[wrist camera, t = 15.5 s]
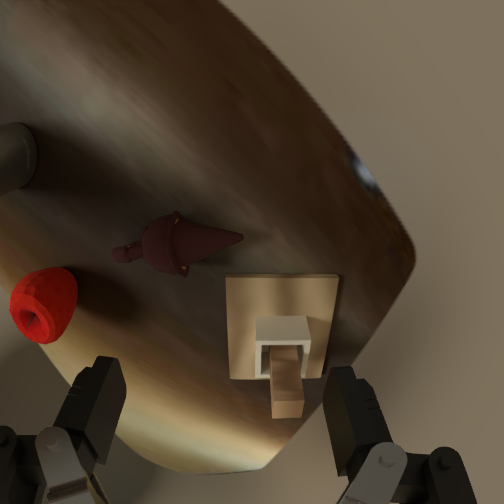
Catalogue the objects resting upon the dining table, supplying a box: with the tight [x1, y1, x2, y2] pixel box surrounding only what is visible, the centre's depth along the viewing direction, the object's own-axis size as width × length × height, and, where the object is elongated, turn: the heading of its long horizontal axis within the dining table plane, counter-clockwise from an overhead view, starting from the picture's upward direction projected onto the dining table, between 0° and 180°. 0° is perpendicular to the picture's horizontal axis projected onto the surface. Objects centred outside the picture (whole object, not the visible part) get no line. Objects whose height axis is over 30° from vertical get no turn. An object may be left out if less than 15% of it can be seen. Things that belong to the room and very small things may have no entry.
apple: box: [9, 267, 78, 344], centre depth 36 cm, size 9×9×11 cm
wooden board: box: [226, 274, 339, 379], centre depth 44 cm, size 14×18×1 cm
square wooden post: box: [269, 345, 305, 418], centre depth 37 cm, size 3×3×12 cm
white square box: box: [255, 316, 311, 378], centre depth 41 cm, size 7×7×5 cm
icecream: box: [110, 211, 244, 278], centre depth 35 cm, size 7×7×15 cm
